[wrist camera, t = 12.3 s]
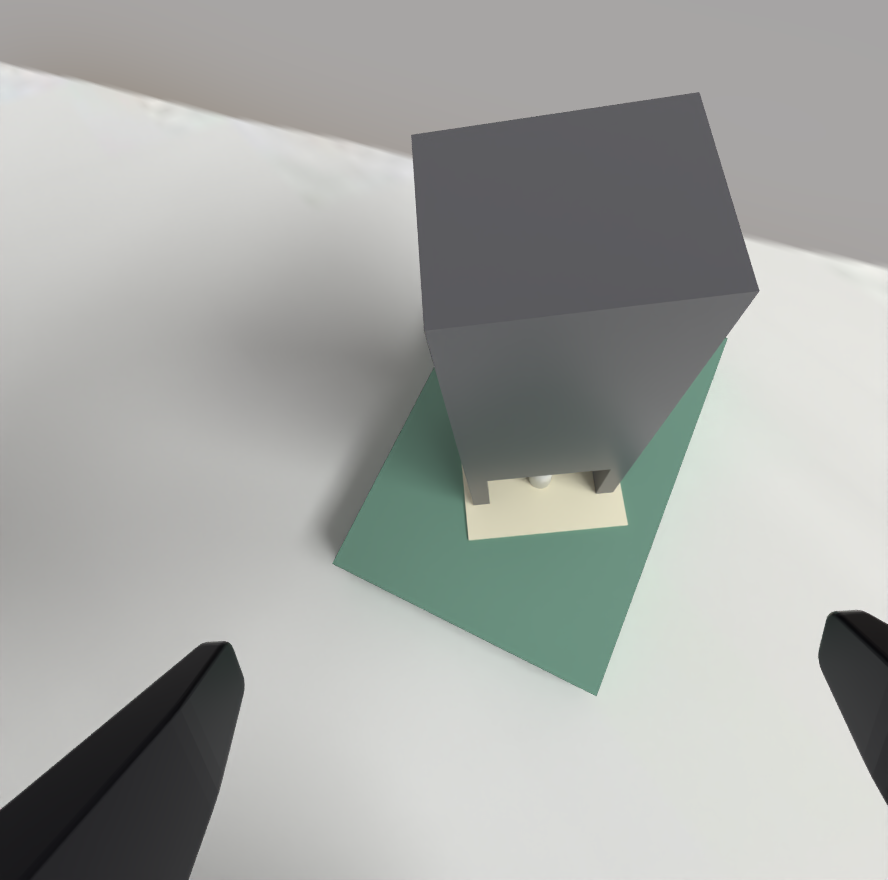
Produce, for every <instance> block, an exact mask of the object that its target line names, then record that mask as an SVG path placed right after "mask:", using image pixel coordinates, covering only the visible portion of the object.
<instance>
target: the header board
mask: <svg viewBox="0 0 888 880" xmlns="http://www.w3.org/2000/svg"><path fill="white" fill-rule="evenodd" d="M727 339H728V338H725V339H724V340H723V342H722V343H721V344H720V346H719V347H718V349H717V350H716V351H715V353H714V354H713V355H712V357H711V358H710V360H709V361H708V362H707V364H706V365H705V366H704V368H703V369H702V371H701V372H700V373H699V375H698V376H697V377H696V379H695V380H694V382H693V383H692V384H691V386H690V387H689V388H688V390H687V391H686V393H685V394H684V395H683V397H682V398H681V399H680V401H679V402H678V404H677V405H676V406H675V408H674V409H673V410H672V412H671V413H670V415H669V416H668V417H667V419H666V420H665V421H664V423H663V424H662V426H661V427H660V428H659V430H658V431H657V432H656V434H655V435H654V437H653V438H652V439H651V441H650V442H649V443H648V445H647V446H646V448H645V449H644V450H643V452H642V453H641V455H640V456H639V457H638V459H637V460H636V461H635V463H634V464H633V466H632V467H631V468H630V470H629V471H628V472H627V474H626V475H625V477H624V478H623V479H622V481H621V482H620V483H619V485H618V486H617V488H616V489H615V490H614V492H611V493H601V494H596V491H595V485H594V479H593V473H592V471H588V472H577V473H567V474H556V475H546V476H536V477H525V478H515V479H504V480H494V481H488V489H489V499H490V504H482V505H473V502H472V498H471V495H470V491H469V487H468V484H467V480H466V477H465V473H464V470H463V466H462V463H461V459H460V456H459V452H458V449H457V445H456V442H455V438H454V434H453V431H452V427H451V424H450V420H449V417H448V413H447V410H446V406H445V403H444V399H443V396H442V392H441V389H440V385H439V381H438V378H437V374H436V371H435V367H434V368H433V370H432V372H431V374H430V376H429V378H428V380H427V382H426V384H425V386H424V388H423V390H422V392H421V393H420V395H419V397H418V399H417V401H416V403H415V405H414V407H413V409H412V411H411V413H410V415H409V417H408V419H407V421H406V422H405V424H404V426H403V428H402V430H401V432H400V434H399V436H398V438H397V440H396V442H395V444H394V446H393V448H392V449H391V451H390V453H389V455H388V457H387V459H386V461H385V463H384V465H383V467H382V469H381V471H380V473H379V475H378V477H377V478H376V480H375V482H374V484H373V486H372V488H371V490H370V492H369V494H368V496H367V498H366V500H365V502H364V504H363V505H362V507H361V509H360V511H359V513H358V515H357V517H356V519H355V521H354V523H353V525H352V527H351V529H350V531H349V533H348V534H347V536H346V538H345V540H344V542H343V544H342V546H341V548H340V550H339V552H338V554H337V556H336V558H335V560H334V561H333V563H332V564H334V565H336V566H338V567H340V568H342V569H344V570H346V571H348V572H350V573H352V574H354V575H356V576H358V577H360V578H362V579H364V580H366V581H368V582H370V583H372V584H374V585H376V586H378V587H380V588H382V589H384V590H386V591H388V592H390V593H392V594H394V595H396V596H398V597H400V598H402V599H404V600H406V601H408V602H410V603H412V604H414V605H416V606H418V607H420V608H422V609H424V610H426V611H428V612H430V613H432V614H434V615H436V616H438V617H440V618H442V619H444V620H446V621H448V622H449V623H451V624H453V625H455V626H457V627H459V628H461V629H463V630H465V631H467V632H469V633H471V634H473V635H475V636H477V637H479V638H481V639H483V640H485V641H487V642H489V643H491V644H493V645H495V646H497V647H499V648H501V649H503V650H505V651H507V652H509V653H511V654H513V655H515V656H517V657H519V658H521V659H523V660H525V661H527V662H529V663H531V664H533V665H535V666H537V667H539V668H541V669H543V670H545V671H547V672H549V673H551V674H553V675H555V676H557V677H559V678H561V679H563V680H565V681H567V682H569V683H571V684H573V685H575V686H577V687H579V688H581V689H583V690H585V691H587V692H589V693H591V694H593V695H595V696H597V693H598V690H599V688H600V685H601V682H602V680H603V677H604V674H605V671H606V669H607V666H608V663H609V660H610V658H611V655H612V652H613V650H614V647H615V644H616V641H617V639H618V636H619V633H620V630H621V628H622V625H623V622H624V620H625V617H626V614H627V611H628V609H629V606H630V603H631V600H632V598H633V595H634V592H635V590H636V587H637V584H638V581H639V579H640V576H641V573H642V570H643V568H644V565H645V562H646V560H647V557H648V554H649V551H650V549H651V546H652V543H653V540H654V538H655V535H656V532H657V530H658V527H659V524H660V521H661V519H662V516H663V513H664V510H665V508H666V505H667V502H668V500H669V497H670V494H671V491H672V489H673V486H674V483H675V480H676V478H677V475H678V472H679V469H680V467H681V464H682V461H683V459H684V456H685V453H686V450H687V448H688V445H689V442H690V439H691V437H692V434H693V431H694V429H695V426H696V423H697V420H698V418H699V415H700V412H701V409H702V407H703V404H704V401H705V399H706V396H707V393H708V390H709V388H710V385H711V382H712V379H713V377H714V374H715V371H716V369H717V366H718V363H719V360H720V358H721V355H722V352H723V349H724V347H725V344H726V341H727Z"/></svg>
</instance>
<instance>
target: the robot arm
mask: <svg viewBox="0 0 888 880" xmlns="http://www.w3.org/2000/svg"><path fill="white" fill-rule="evenodd" d="M818 658H819V664H820V667H821V670H822V672H823V675H824V677H825V679H826V681H827V683H828V685H829V687H830V690H831V692H832V694H833V696H834V698H835V700H836V703H837V705H838V707H839V709H840V711H841V713H842V715H843V718H844V720H845V722H846V724H847V726H848V728H849V731H850V733H851V735H852V737H853V739H854V741H855V743H856V746H857V748H858V750H859V752H860V754H861V756H862V759H863V761H864V763H865V765H866V767H867V769H868V771H869V773H870V775H871V777H872V778H873V780H874V782H875V784H876V786H877V787H878V789H879V791H880V793H881V795H882V796H883V798H884V800H885V802H886V803H887V805H888V624H886V623H885V622H883V621H881V620H879V619H878V618H876V617H874V616H872V615H870V614H869V613H866V612H864V611H860V610H849V611H834V612H831V613H830V614H829V615H828V616H827V619H826V623H825V627H824V631H823V635H822V639H821V643H820V648H819V653H818ZM243 694H244V677H243V674H242V671H241V668H240V666H239V663H238V660H237V657H236V655H235V652H234V649H233V647H232V645H231V644H230V643H229V642H226V641H218V642H205V643H202V644H200V645H199V646H198V647H196V648H195V649H194V650H193V651H192V652H190V653H189V654H188V655H187V656H186V657H184V658H183V659H182V660H181V661H179V662H178V663H177V664H176V665H175V666H173V667H172V668H171V669H170V670H169V671H167V672H166V673H165V674H164V675H163V676H161V677H160V678H159V679H158V680H157V681H155V682H154V683H153V684H152V685H150V686H149V687H148V688H147V689H146V690H144V691H143V692H142V693H141V694H140V695H138V696H137V697H136V698H135V699H134V700H132V701H131V702H130V703H129V704H128V705H126V706H125V707H124V708H123V709H121V710H120V711H119V712H118V713H117V714H115V715H114V716H113V717H112V718H111V719H109V720H108V721H107V722H106V723H105V724H103V725H102V726H101V727H100V728H99V729H97V730H96V731H95V732H94V733H92V734H91V735H90V736H89V737H88V738H86V739H85V740H84V741H83V742H82V743H80V744H79V745H78V746H77V747H76V748H74V749H73V750H72V751H71V752H70V753H68V754H67V755H66V756H65V757H63V758H62V759H61V760H60V761H59V762H57V763H56V764H55V765H54V766H53V767H51V768H50V769H49V770H48V771H47V772H45V773H44V774H43V775H42V776H41V777H39V778H38V779H37V780H36V781H34V782H33V783H32V784H31V785H30V786H28V787H27V788H26V789H25V790H24V791H22V792H21V793H20V794H19V795H18V796H16V797H15V798H14V799H13V800H11V801H10V802H9V803H8V804H7V805H5V806H4V807H3V808H2V809H1V810H0V880H189V877H190V874H191V871H192V868H193V865H194V863H195V860H196V857H197V854H198V851H199V848H200V846H201V843H202V840H203V837H204V834H205V831H206V829H207V826H208V823H209V820H210V817H211V814H212V812H213V809H214V806H215V803H216V800H217V796H218V793H219V790H220V786H221V783H222V779H223V775H224V771H225V767H226V763H227V759H228V755H229V751H230V747H231V743H232V739H233V735H234V731H235V727H236V723H237V719H238V715H239V711H240V707H241V702H242V698H243Z"/></svg>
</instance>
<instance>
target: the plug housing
mask: <svg viewBox="0 0 888 880" xmlns="http://www.w3.org/2000/svg"><path fill="white" fill-rule="evenodd" d="M411 137H412V152H413V168H414V183H415V198H416V213H417V229H418V244H419V259H420V274H421V289H422V305H423V320H424V332H425V335H426V339H427V343H428V346H429V350H430V353H431V357H432V360H433V364H434V367H435V371H436V374H437V378H438V381H439V385H440V389H441V392H442V396H443V399H444V403H445V406H446V410H447V413H448V417H449V420H450V424H451V427H452V431H453V434H454V438H455V442H456V445H457V449H458V452H459V456H460V459H461V463H462V466H463V470H464V473H465V477H466V480H467V484H468V487H469V491H470V495H471V498H472V502H473V505H482V504H490V499H489V489H488V481H494V480H504V479H515V478H525V477H536V476H546V475H556V474H567V473H577V472H588V471H592V473H593V479H594V485H595V491H596V494H601V493H611V492H614V490H615V489H616V488H617V486H618V485H619V483H620V482H621V481H622V479H623V478H624V477H625V475H626V474H627V472H628V471H629V470H630V468H631V467H632V466H633V464H634V463H635V461H636V460H637V459H638V457H639V456H640V455H641V453H642V452H643V450H644V449H645V448H646V446H647V445H648V443H649V442H650V441H651V439H652V438H653V437H654V435H655V434H656V432H657V431H658V430H659V428H660V427H661V426H662V424H663V423H664V421H665V420H666V419H667V417H668V416H669V415H670V413H671V412H672V410H673V409H674V408H675V406H676V405H677V404H678V402H679V401H680V399H681V398H682V397H683V395H684V394H685V393H686V391H687V390H688V388H689V387H690V386H691V384H692V383H693V382H694V380H695V379H696V377H697V376H698V375H699V373H700V372H701V371H702V369H703V368H704V366H705V365H706V364H707V362H708V361H709V360H710V358H711V357H712V355H713V354H714V353H715V351H716V350H717V349H718V347H719V346H720V344H721V343H722V342H723V340H724V339H725V338H726V336H727V335H728V333H729V332H730V331H731V329H732V328H733V327H734V325H735V324H736V322H737V321H738V320H739V318H740V317H741V316H742V314H743V313H744V311H745V310H746V309H747V307H748V306H749V305H750V303H751V302H752V300H753V299H754V298H755V296H756V295H757V294H758V292H759V288H758V285H757V282H756V278H755V275H754V272H753V268H752V265H751V262H750V259H749V255H748V252H747V249H746V245H745V242H744V239H743V235H742V232H741V229H740V225H739V222H738V219H737V215H736V212H735V209H734V206H733V202H732V199H731V196H730V192H729V189H728V186H727V182H726V179H725V176H724V172H723V170H722V166H721V162H720V159H719V156H718V153H717V150H716V146H715V143H714V139H713V136H712V133H711V129H710V126H709V123H708V119H707V116H706V113H705V110H704V106H703V103H702V100H701V96H700V93H699V92H698V93H691V94H685V95H678V96H671V97H665V98H658V99H651V100H644V101H637V102H631V103H624V104H617V105H610V106H603V107H598V108H590V109H583V110H577V111H570V112H563V113H556V114H550V115H543V116H536V117H530V118H523V119H517V120H509V121H503V122H496V123H489V124H482V125H475V126H469V127H462V128H455V129H448V130H442V131H435V132H428V133H421V134H415V135H411Z"/></svg>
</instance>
